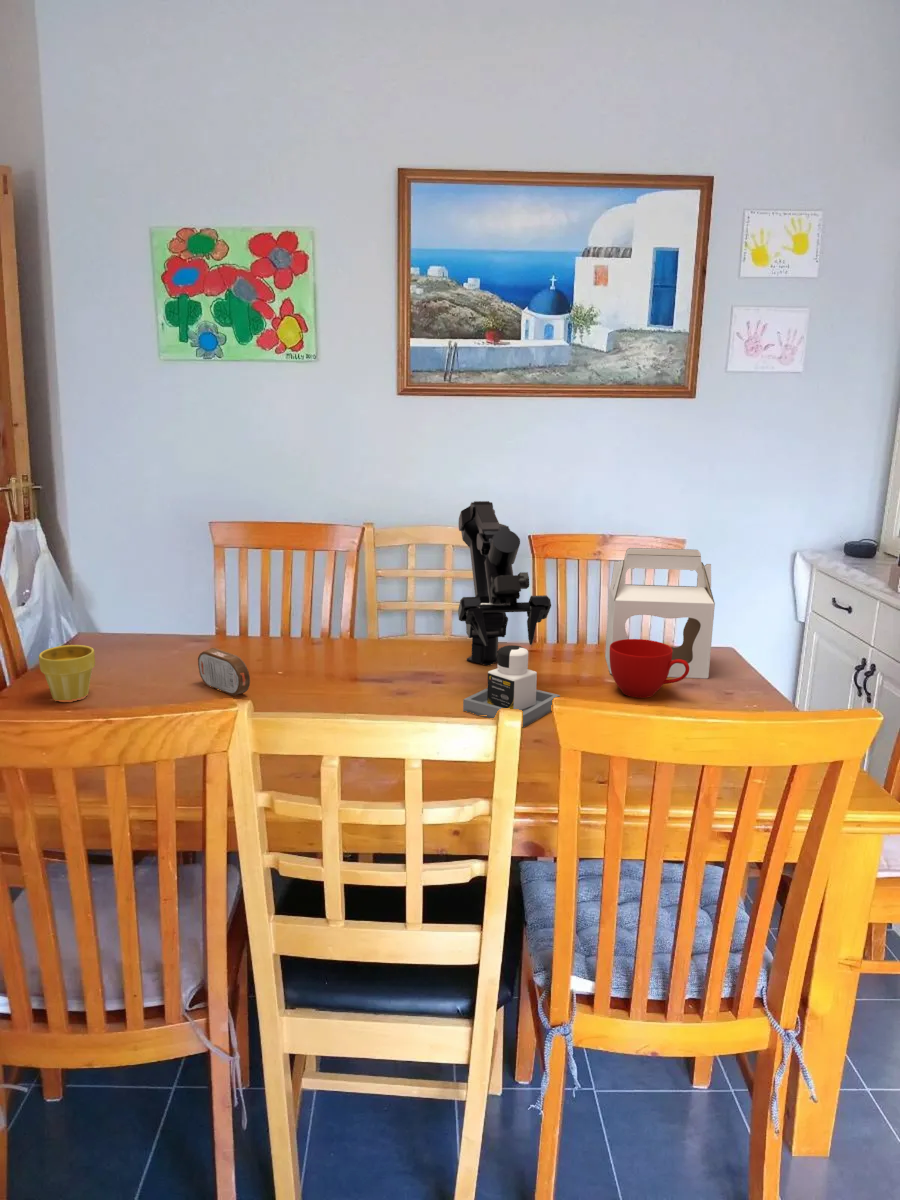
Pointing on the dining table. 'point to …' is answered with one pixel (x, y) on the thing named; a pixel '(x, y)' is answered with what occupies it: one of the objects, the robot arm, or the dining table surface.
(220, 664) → the tin
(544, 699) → the slate tray
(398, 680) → the dining table surface
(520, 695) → the medicine bottle
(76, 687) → the plant pot
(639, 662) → the ceramic cup
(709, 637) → the gable box
